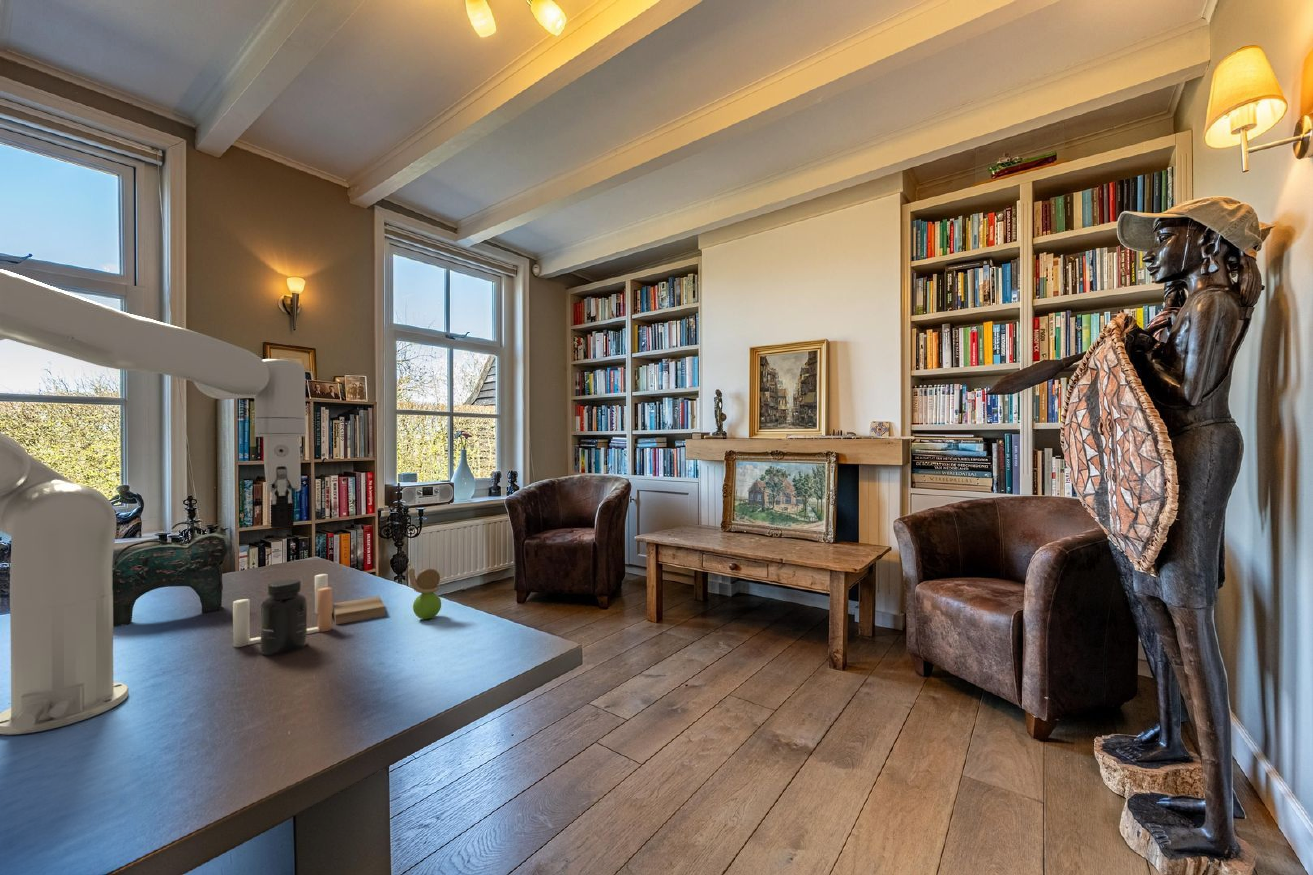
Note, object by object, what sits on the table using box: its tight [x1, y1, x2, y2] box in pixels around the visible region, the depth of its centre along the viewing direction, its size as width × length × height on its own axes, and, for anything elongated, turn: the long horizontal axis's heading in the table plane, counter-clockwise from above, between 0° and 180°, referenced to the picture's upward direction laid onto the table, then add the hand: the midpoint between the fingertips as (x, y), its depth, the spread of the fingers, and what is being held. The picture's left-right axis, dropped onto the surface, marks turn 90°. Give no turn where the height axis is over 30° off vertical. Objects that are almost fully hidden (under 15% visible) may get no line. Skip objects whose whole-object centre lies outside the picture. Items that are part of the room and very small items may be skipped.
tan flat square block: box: [332, 596, 386, 625], centre depth 114 cm, size 9×9×2 cm
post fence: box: [232, 573, 333, 648], centre depth 107 cm, size 15×15×8 cm
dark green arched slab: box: [112, 521, 232, 628], centre depth 114 cm, size 20×6×20 cm, turn 126°
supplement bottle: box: [260, 578, 308, 656], centre depth 96 cm, size 7×7×12 cm
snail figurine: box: [407, 562, 442, 620], centre depth 111 cm, size 5×6×12 cm
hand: (282, 523), depth 96 cm, fingers open, 9 cm apart
